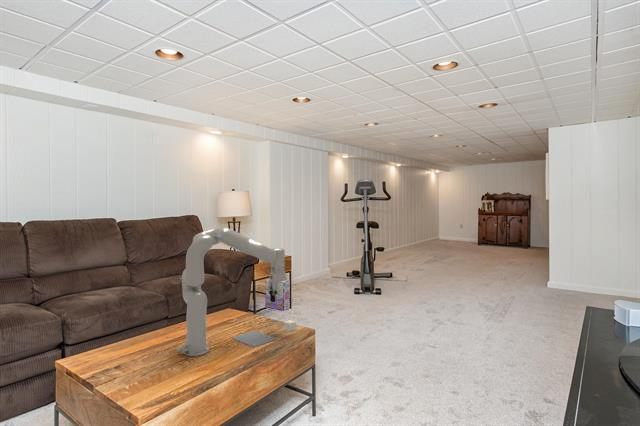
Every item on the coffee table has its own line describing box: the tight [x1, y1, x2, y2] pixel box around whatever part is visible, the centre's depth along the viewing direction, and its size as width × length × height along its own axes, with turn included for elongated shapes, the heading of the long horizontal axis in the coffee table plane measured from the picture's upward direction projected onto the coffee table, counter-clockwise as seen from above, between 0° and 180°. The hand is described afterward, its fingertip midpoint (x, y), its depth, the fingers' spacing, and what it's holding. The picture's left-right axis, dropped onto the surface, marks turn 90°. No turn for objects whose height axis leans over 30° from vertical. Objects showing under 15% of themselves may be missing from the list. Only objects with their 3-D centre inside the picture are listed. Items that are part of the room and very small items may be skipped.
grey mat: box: [231, 330, 278, 348], centre depth 200 cm, size 16×20×1 cm
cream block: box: [283, 319, 297, 333], centre depth 216 cm, size 5×5×5 cm
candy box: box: [264, 279, 291, 312], centre depth 206 cm, size 14×6×16 cm, turn 58°
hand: (277, 300), depth 206 cm, fingers closed on candy box, 6 cm apart
